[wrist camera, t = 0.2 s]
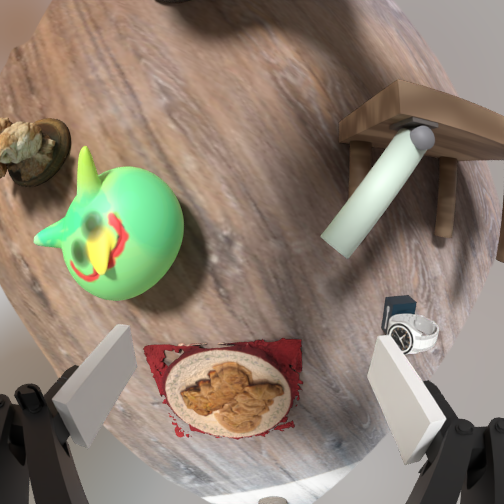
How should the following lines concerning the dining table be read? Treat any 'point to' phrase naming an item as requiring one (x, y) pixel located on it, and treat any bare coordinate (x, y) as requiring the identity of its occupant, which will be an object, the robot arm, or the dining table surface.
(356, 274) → the dining table surface
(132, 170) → the toy bird
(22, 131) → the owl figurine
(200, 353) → the plate with food
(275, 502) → the thermos bottle
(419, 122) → the stool
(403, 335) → the watch
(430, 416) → the robot arm
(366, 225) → the hinged leg
